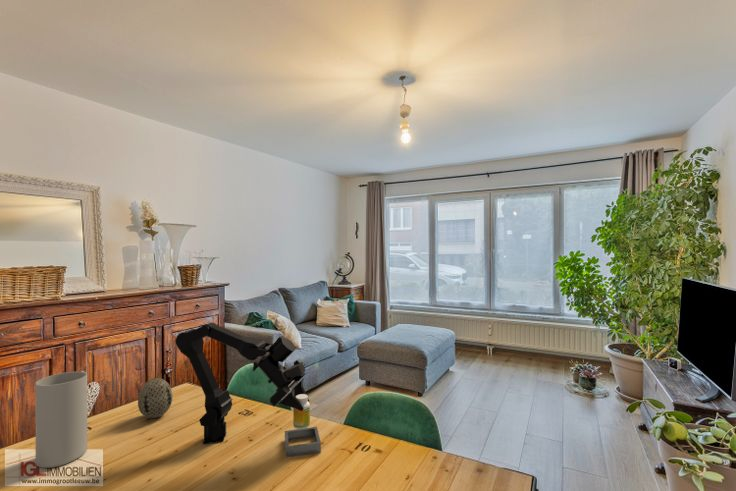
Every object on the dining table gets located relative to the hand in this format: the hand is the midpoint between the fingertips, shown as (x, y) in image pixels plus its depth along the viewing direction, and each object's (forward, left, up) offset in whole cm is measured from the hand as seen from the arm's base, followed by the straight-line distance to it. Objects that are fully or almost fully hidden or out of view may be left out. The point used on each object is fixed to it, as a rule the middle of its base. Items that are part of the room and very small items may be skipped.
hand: (305, 406), depth 119 cm
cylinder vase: (-75, +14, -13) cm, 78 cm away
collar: (-1, 0, -13) cm, 13 cm away
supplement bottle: (-1, +1, -7) cm, 7 cm away
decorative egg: (-55, +37, -13) cm, 68 cm away
